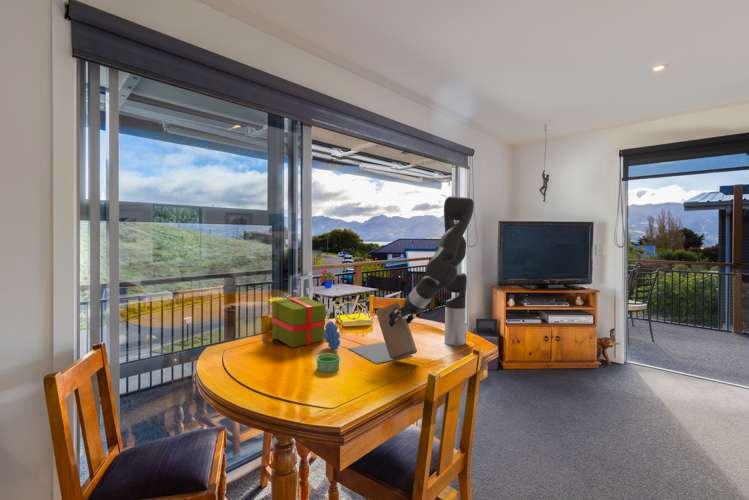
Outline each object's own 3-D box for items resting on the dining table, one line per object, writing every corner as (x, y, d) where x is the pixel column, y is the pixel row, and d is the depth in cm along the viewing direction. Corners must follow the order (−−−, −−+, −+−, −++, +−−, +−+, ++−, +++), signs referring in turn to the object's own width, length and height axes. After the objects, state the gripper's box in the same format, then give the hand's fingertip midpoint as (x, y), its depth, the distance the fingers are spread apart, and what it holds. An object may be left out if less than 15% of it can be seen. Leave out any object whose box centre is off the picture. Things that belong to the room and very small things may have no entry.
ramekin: (320, 374, 133) (320, 362, 133) (312, 366, 141) (313, 355, 141) (343, 370, 138) (343, 359, 137) (334, 363, 146) (334, 352, 145)
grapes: (317, 347, 165) (317, 320, 164) (330, 344, 169) (330, 318, 168) (329, 354, 155) (330, 326, 155) (343, 351, 159) (344, 324, 159)
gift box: (323, 348, 174) (295, 333, 192) (332, 304, 175) (303, 294, 193) (285, 349, 160) (258, 333, 178) (295, 302, 160) (267, 290, 178)
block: (414, 350, 139) (397, 301, 147) (389, 358, 140) (374, 309, 149) (418, 352, 148) (402, 306, 156) (394, 360, 149) (380, 314, 158)
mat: (382, 342, 173) (382, 342, 173) (412, 356, 154) (412, 355, 154) (348, 349, 163) (348, 348, 163) (376, 364, 144) (376, 363, 144)
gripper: (428, 289, 143) (408, 313, 153) (398, 292, 135) (380, 317, 145) (437, 305, 139) (416, 328, 149) (407, 309, 131) (388, 333, 141)
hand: (398, 323), depth 147 cm, fingers open, 8 cm apart
